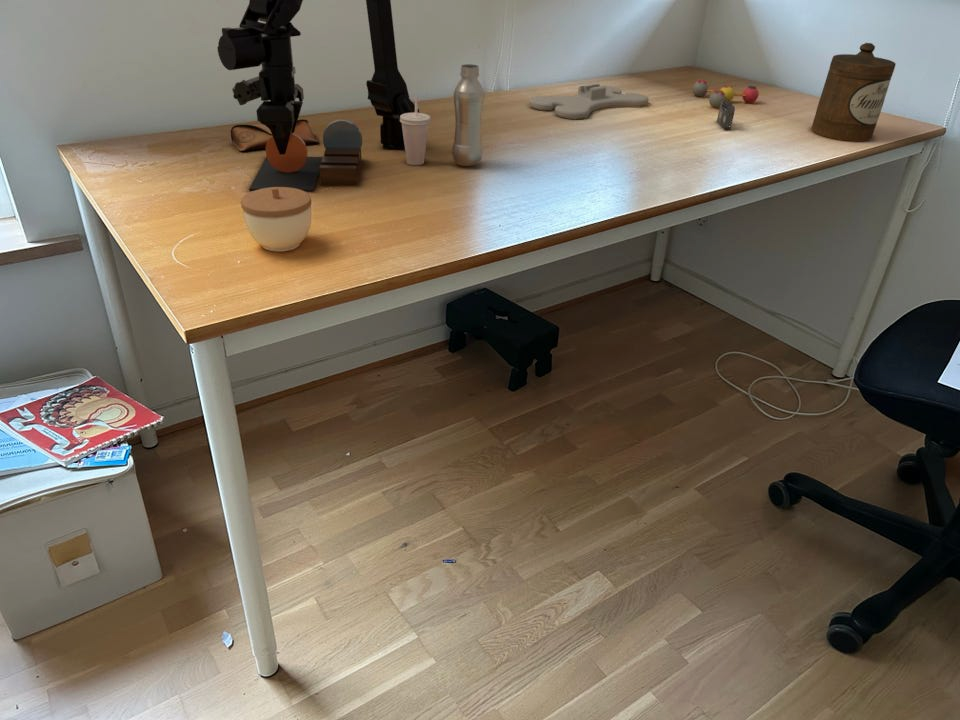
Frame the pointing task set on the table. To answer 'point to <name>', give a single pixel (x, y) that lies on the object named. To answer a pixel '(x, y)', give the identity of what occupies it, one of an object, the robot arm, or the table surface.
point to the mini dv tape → (725, 114)
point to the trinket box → (277, 217)
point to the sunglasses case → (265, 135)
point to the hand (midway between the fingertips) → (285, 147)
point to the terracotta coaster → (287, 154)
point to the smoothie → (415, 135)
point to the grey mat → (288, 176)
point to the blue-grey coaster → (342, 135)
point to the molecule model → (724, 93)
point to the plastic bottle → (468, 117)
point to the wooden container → (853, 95)
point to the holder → (587, 101)
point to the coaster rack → (340, 166)
